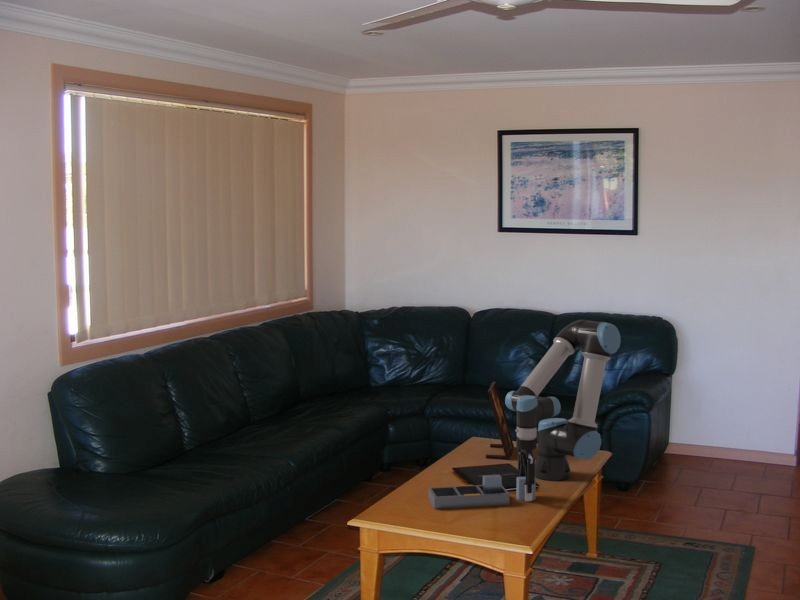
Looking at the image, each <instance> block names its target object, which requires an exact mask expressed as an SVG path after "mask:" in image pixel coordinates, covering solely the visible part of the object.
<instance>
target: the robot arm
mask: <svg viewBox="0 0 800 600" xmlns="http://www.w3.org/2000/svg"><path fill="white" fill-rule="evenodd" d="M620 346H621V334H620V330H619V329H618V328H617V326H616V325H614V324H612V323H609V322H606V321H595V320H589V319H578V320H575V321H573V322H571V323H569V324H567V325H566V326H565V327H563V328H562V329H561V330H560V331H559V332H558V334H556V336H555V337H554V338H553V344H552V345H551V346H550V348H549V349H548V350H547V352H546V353H545V354H544V356H543V357H542V358H541V360H540V361H539V362H538V363H537V364H536V366H535V367H534V368H533V369H532V370H531V372H530V374H529V375H528V376H527V377H526V379H525V380H524V381H523V382H522V384H521V385H520V387H519V388H518V389H517V390H511V391H509V392H507V394H506V396H505V399H504V402H505V405H506V406H505V407H506V408H507V409H508V410H511V411H513V412H516V429H515V432H516V442H515V447H516V449H517V454H518V455H517V456H518V457H517V459H518V460H517V475H518V477H526V483H524V485H525V500H524V502H533V500H532V493H533V484H535V479H536V478H537V479H540V480H544V481H565V480H567V479H570V478H571V476H572V475H571V473H572V471H571V467H570V463H569V461H568V456H570V457H572V458H573V457H574V458H576V459H579V460H585V461H586V460H590V459H591V460H592V458H594V457H595V456H596V455H598V453H599V451H600V448H601V445H602V437H601V434H600V433H599V432H598V427H599V426H598V425H597V424H596V417H597V411H598V406H599V402H600V397H601V396H600V395H601V390H602V386H603V380H604V375H605V370H606V364H607V362H609V360H611V358H612V354H614V353H615V354H616V353H617V352H618V350H619V349H620ZM579 349H580V350H581V355H582V356H583V362H582V367H581V373H580V377H579V383H578V387H577V388H578V389H577V395H576V399H575V404H574V409H573V410H574V411H573V414H572V417H571V418H570V419H567V418H559V417H557V416H558V415H559V414H560V413H561V410H562V407H561V403H560V400H559V399H558V398H557V397H555V396H547V397H543V396H539V395H540V394H541V392H542V391H543V389H545V387H546V385H548V383H549V382H550V380H552V378H553V376H554V375H555V374H556V373H557V372H558V370H559V369H560V367H562V365H563V363H564V362H565V361H566V359H567V358H568V357H569V356H571V355H574V353H575V352H576V351H577V350H579ZM554 417H555V418H554ZM538 421H539V422H538ZM536 449H537V457H536V458H535V457H534V454H533V451H534V450H536Z"/></svg>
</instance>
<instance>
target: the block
mask: <svg viewBox="0 0 800 600" xmlns="http://www.w3.org/2000/svg"><path fill="white" fill-rule="evenodd" d="M524 483H526V477H519V476H516V487H515V489H516V493H515V494H516V495H515V497H516V499H517V500H518V501H525V485H524ZM536 483H537V479H536V478H535V484H533V493H532V501H534V500H536V490H537V489H536V486H537V484H536Z"/></svg>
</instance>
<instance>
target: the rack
mask: <svg viewBox="0 0 800 600" xmlns="http://www.w3.org/2000/svg"><path fill="white" fill-rule="evenodd" d="M502 478H503V477H502V476H501V475H500V474H488V475H487V474H486V475H482V484H476V485H474V484H464V485H463V484H462V485H461V484H460V485H459V484H457V485H456V486H438V487H435V486H434V487H428V491H427V492H428V493H427V495H428V497H427V498H428V500H429V502H430V504H431V505H432V507H433V510H437V509H456V508H457V509H458V508H472V507H474V508H475V507H492V506H509V505H510V492H509V491H508V490H507V489H506V488H505V487H504V486H503V481H502V480H503V479H502Z"/></svg>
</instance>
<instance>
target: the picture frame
mask: <svg viewBox="0 0 800 600" xmlns="http://www.w3.org/2000/svg"><path fill="white" fill-rule="evenodd" d="M487 394H488V395H487V396H488V398H489V403H490V406H491V408H492V409H491V410H492V413H493V417H494V421H495V424H496V428H497V431H498V434H499V438H500V442H501V443H490V444H489V447H490V448H502V449H503V452H504V454H485V458H486V459H501V460H502V459H503V460H505V459H506V461H508V460H511V457H512V453H513V451H514V448H515V445H514V441H513V439H512V436H511V435H512V434H511V431H510V427H509V424H508V420H507V418H506V417H507V416H506V413H505V410H504V405H503V402H502V399H501V396H500V392H499V388H498V384H497V381H492V382H491V383H490V386H489V388H488V390H487Z"/></svg>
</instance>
